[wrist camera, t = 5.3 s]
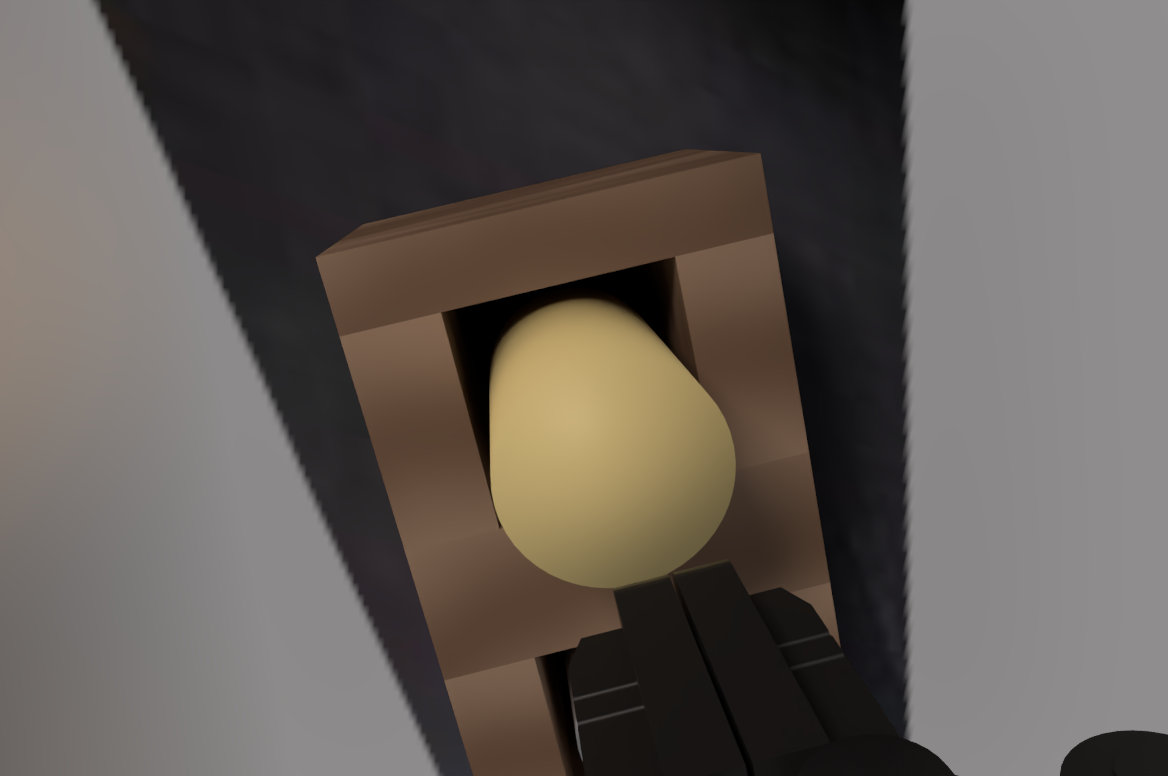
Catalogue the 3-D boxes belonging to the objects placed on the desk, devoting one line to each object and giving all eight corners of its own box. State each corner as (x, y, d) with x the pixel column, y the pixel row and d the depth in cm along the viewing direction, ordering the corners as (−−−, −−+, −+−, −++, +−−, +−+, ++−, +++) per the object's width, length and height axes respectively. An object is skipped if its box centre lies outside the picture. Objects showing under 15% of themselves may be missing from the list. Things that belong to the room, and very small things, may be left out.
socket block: (363, 224, 28) (315, 257, 20) (685, 149, 28) (760, 153, 20) (506, 725, 33) (513, 905, 25) (778, 655, 33) (867, 812, 25)
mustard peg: (469, 310, 23) (462, 389, 16) (641, 269, 23) (711, 328, 16) (512, 471, 24) (522, 613, 17) (674, 431, 24) (754, 555, 17)
